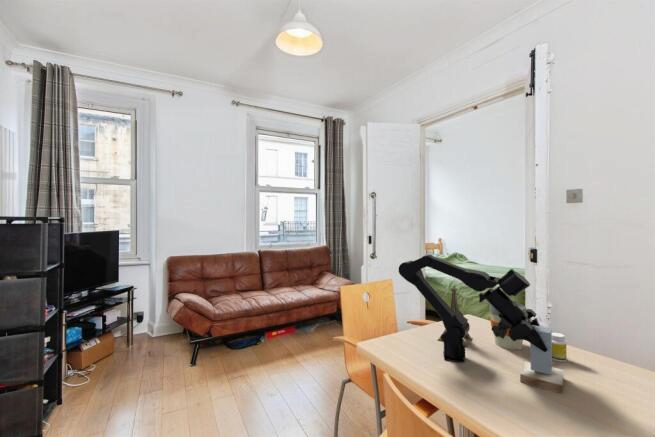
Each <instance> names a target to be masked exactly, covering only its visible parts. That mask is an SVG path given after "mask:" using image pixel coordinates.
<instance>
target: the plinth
mask: <svg viewBox="0 0 655 437" xmlns="http://www.w3.org/2000/svg"><path fill="white" fill-rule="evenodd" d="M519 378H520V380H519V382H520V383H524V384H527V385H530V386H533V387H538V388H542V389H546V390H548V391H552V392H556V393H560V394H563V392H564V369H562V368H556V367H553V366H552V374H551V375H550V374H546V373H542V372H538V371H534V370H531V361H526V360H524V361H523V363H522V366H521V370H520V373H519Z"/></svg>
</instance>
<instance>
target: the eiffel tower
mask: <svg viewBox="0 0 655 437" xmlns="http://www.w3.org/2000/svg"><path fill="white" fill-rule="evenodd" d="M450 291H451V299H450V301H451V303H450V309H451V310H453V311H454V312H456V313H457V312H458V311H460V310H459V304H458V297H457V291H459V290H458V288H457V287H455V286H453V287H451V288H450ZM446 331H447V330H446V329H445V328H444V331H443V332H442V334H443V333H445V332H446ZM473 338H474V337H471V335H470V334H469V332H468V333H467V334H466V335H465V337H464V338H463V339H462V340H463V343H464V345H465V348H466V347H467V346H468V344H467V343H466V341H471V342H472V341H473ZM465 340H466V341H465ZM436 341H438V342H441V343H444V342H443V341H442V338H441V335H440V336H439V338H438V339H437V340H436Z"/></svg>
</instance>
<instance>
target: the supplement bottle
mask: <svg viewBox="0 0 655 437" xmlns="http://www.w3.org/2000/svg"><path fill="white" fill-rule="evenodd" d="M567 358H568V357H567V342H566V337H565V335H564V334H563V333H558V332H552V361H556V362H559V363H564V362H566V361H567Z"/></svg>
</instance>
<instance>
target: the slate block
mask: <svg viewBox="0 0 655 437" xmlns="http://www.w3.org/2000/svg"><path fill="white" fill-rule="evenodd" d="M533 326H535V325H532V327H533ZM535 328H536V329H537V331H538V333H539V335H540V337H541V338H542V340H543V342H544V344H545V346H546V348H547V349H548V350H547V351H546V352H544V351H542V350H540V349H539V348H537V347H536V346H534V345H533V344H531V343H530V342H529V345H530V347H529V349H530V352H529V354H530V356H529V357H530V362H531V370H534V371H538V372H542V373H546V374H550V375H551V374H552V367H553V359H552V333H553V331H552V328H550V327H546V326H545V327H544V326H541V325H540V326H535Z"/></svg>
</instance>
